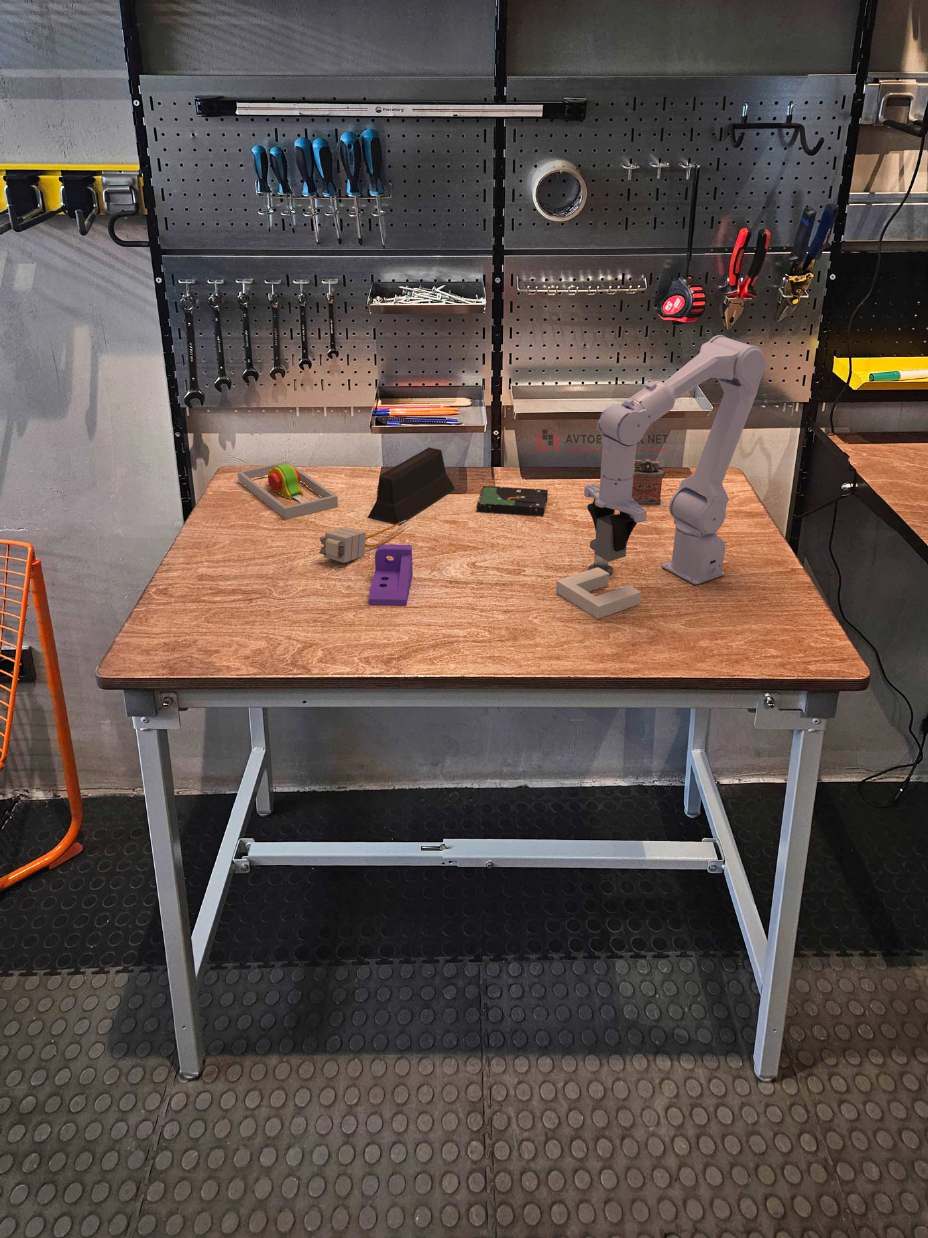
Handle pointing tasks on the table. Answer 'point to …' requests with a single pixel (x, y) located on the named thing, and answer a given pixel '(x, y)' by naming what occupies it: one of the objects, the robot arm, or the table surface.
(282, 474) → the toy measuring tape
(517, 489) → the disk drive
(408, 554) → the bracket
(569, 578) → the notched board
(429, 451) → the barrier
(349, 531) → the electrical component
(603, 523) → the tab block
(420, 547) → the table surface
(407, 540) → the table surface
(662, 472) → the lighter
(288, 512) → the rectangular frame
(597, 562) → the bobbin post
